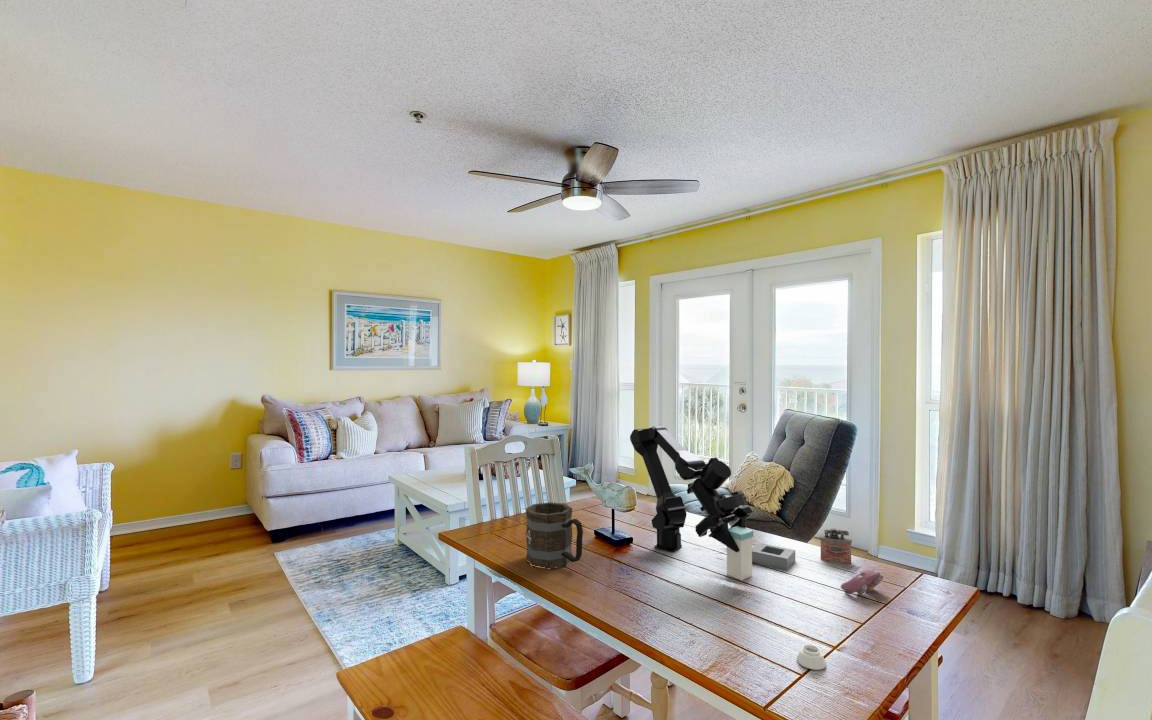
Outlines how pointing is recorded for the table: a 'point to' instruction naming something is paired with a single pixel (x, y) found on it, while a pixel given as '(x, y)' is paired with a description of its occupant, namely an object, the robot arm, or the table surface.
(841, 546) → the lighter
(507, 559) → the table surface
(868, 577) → the video game controller
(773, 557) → the grey hollow block
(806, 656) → the white jar
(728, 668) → the table surface
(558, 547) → the mug
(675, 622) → the table surface
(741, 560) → the plug
